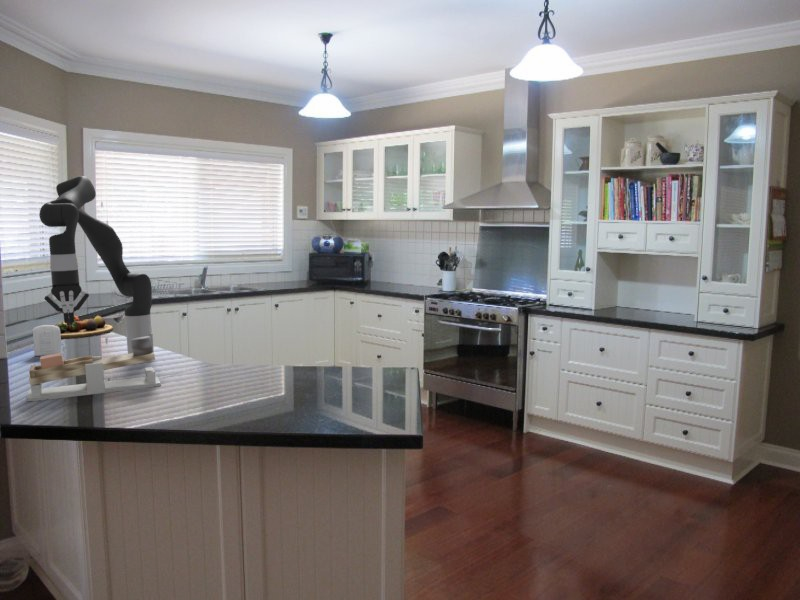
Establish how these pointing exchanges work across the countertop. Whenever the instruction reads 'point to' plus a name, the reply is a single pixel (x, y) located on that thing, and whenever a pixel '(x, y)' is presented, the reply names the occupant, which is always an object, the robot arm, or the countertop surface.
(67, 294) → the robot arm
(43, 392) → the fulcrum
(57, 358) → the rider
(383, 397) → the countertop surface
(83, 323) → the wooden plate with food
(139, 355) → the beam
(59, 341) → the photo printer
